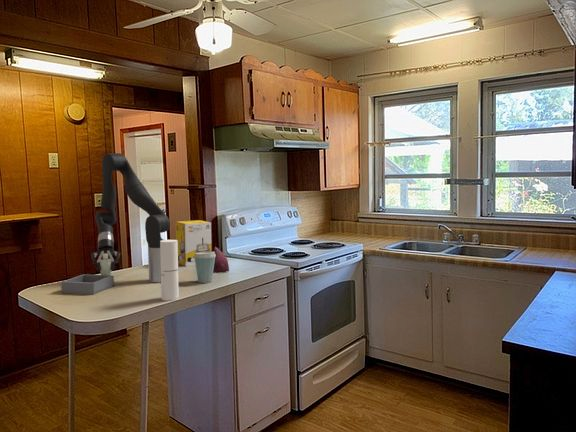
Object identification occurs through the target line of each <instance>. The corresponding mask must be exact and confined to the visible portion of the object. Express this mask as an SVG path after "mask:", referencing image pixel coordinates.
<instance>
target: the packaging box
mask: <svg viewBox="0 0 576 432" xmlns="http://www.w3.org/2000/svg"><path fill="white" fill-rule="evenodd" d="M174 223H175V240H177V241H178V265H181V266H183V267H186V268H187V267H194V266H195V267H196V264H195V257H194V255H195V254H196V253H200V252H213V251H212V221H205V220H199V219H198V220H197V219H195V220H182V221H181V220H179V221H175V222H174Z"/></svg>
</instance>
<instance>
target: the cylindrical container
mask: <svg viewBox="0 0 576 432" xmlns="http://www.w3.org/2000/svg"><path fill="white" fill-rule="evenodd" d="M160 255H161V282H160V284H161V285H160V286H161V287H160V288H161V289H160V290H161V301H167V302H169V301H176V300H178V299H179V297H180V296H179V294H180V293H179V292H180V291H179V263H178V241H177V240H176V239H163V240H162V241H160Z"/></svg>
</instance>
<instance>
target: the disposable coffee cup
mask: <svg viewBox="0 0 576 432" xmlns="http://www.w3.org/2000/svg"><path fill="white" fill-rule="evenodd" d="M194 257H195V264H196V266H195V269H196V277H197V281H198V283H200V284H208V283H211V282H212V280H213V275H214V272H213V269H214V262H215V257H216V254H215V252H214V251H212V252H200V253H196V254H195V255H194Z"/></svg>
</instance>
